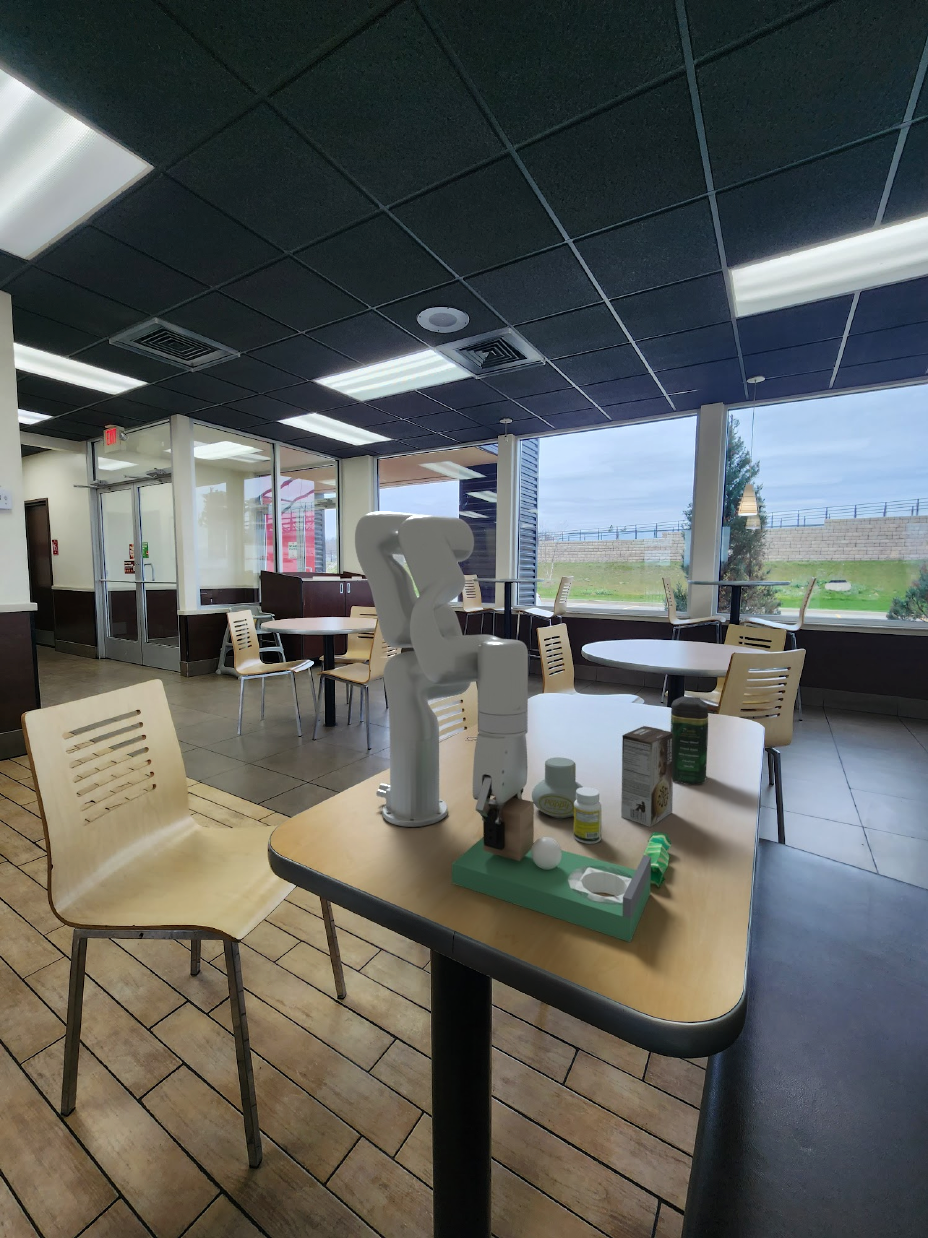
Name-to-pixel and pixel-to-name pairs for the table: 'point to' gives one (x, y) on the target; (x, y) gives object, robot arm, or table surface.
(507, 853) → the block
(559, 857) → the ball
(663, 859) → the candy
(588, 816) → the supplement bottle
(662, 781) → the coffee box
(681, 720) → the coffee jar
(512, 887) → the board
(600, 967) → the table surface
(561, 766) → the air freshener
